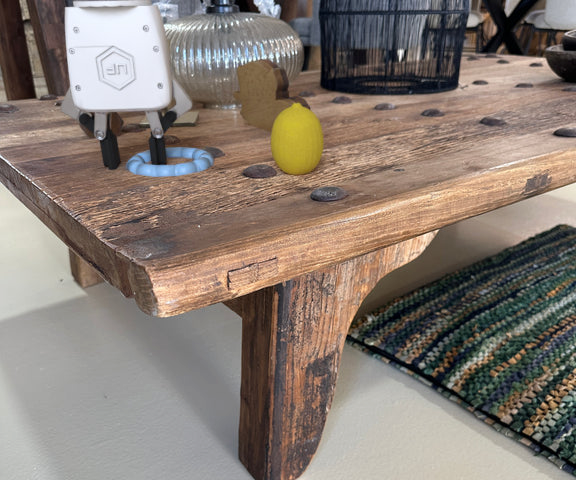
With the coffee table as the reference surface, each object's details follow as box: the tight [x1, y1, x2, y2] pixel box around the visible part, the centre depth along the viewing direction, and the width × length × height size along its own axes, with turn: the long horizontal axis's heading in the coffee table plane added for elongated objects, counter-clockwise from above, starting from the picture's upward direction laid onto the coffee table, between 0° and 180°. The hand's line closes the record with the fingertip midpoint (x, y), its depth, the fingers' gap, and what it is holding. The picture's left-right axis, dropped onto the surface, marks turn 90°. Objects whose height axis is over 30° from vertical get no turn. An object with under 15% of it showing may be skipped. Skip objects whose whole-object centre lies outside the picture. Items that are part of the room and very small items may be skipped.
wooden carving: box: [232, 58, 312, 133], centre depth 78 cm, size 16×5×10 cm, turn 39°
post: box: [139, 38, 200, 129], centre depth 85 cm, size 8×8×12 cm
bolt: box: [78, 112, 125, 140], centre depth 83 cm, size 6×5×15 cm
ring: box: [125, 146, 215, 178], centre depth 65 cm, size 10×10×2 cm
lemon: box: [270, 103, 325, 176], centre depth 59 cm, size 6×6×8 cm
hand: (136, 170), depth 65 cm, fingers open, 4 cm apart
